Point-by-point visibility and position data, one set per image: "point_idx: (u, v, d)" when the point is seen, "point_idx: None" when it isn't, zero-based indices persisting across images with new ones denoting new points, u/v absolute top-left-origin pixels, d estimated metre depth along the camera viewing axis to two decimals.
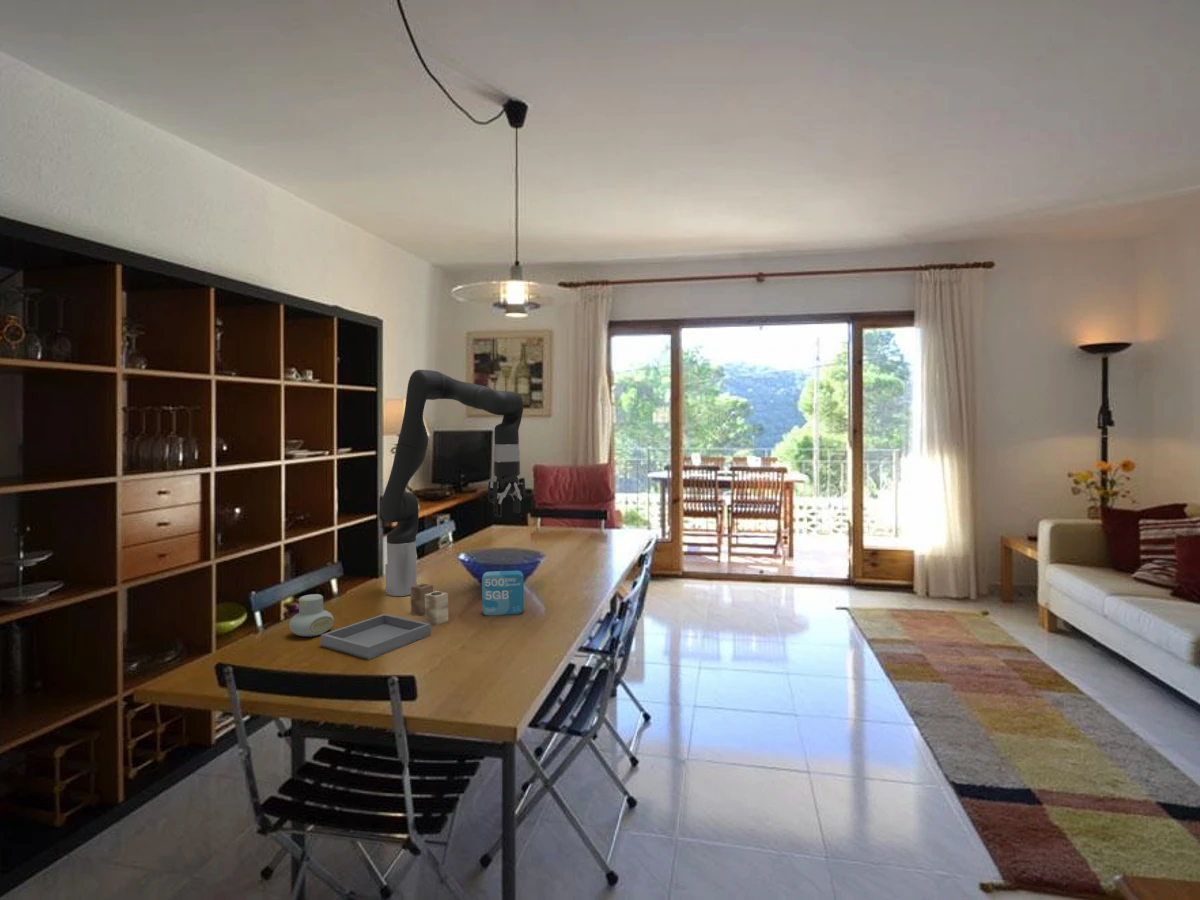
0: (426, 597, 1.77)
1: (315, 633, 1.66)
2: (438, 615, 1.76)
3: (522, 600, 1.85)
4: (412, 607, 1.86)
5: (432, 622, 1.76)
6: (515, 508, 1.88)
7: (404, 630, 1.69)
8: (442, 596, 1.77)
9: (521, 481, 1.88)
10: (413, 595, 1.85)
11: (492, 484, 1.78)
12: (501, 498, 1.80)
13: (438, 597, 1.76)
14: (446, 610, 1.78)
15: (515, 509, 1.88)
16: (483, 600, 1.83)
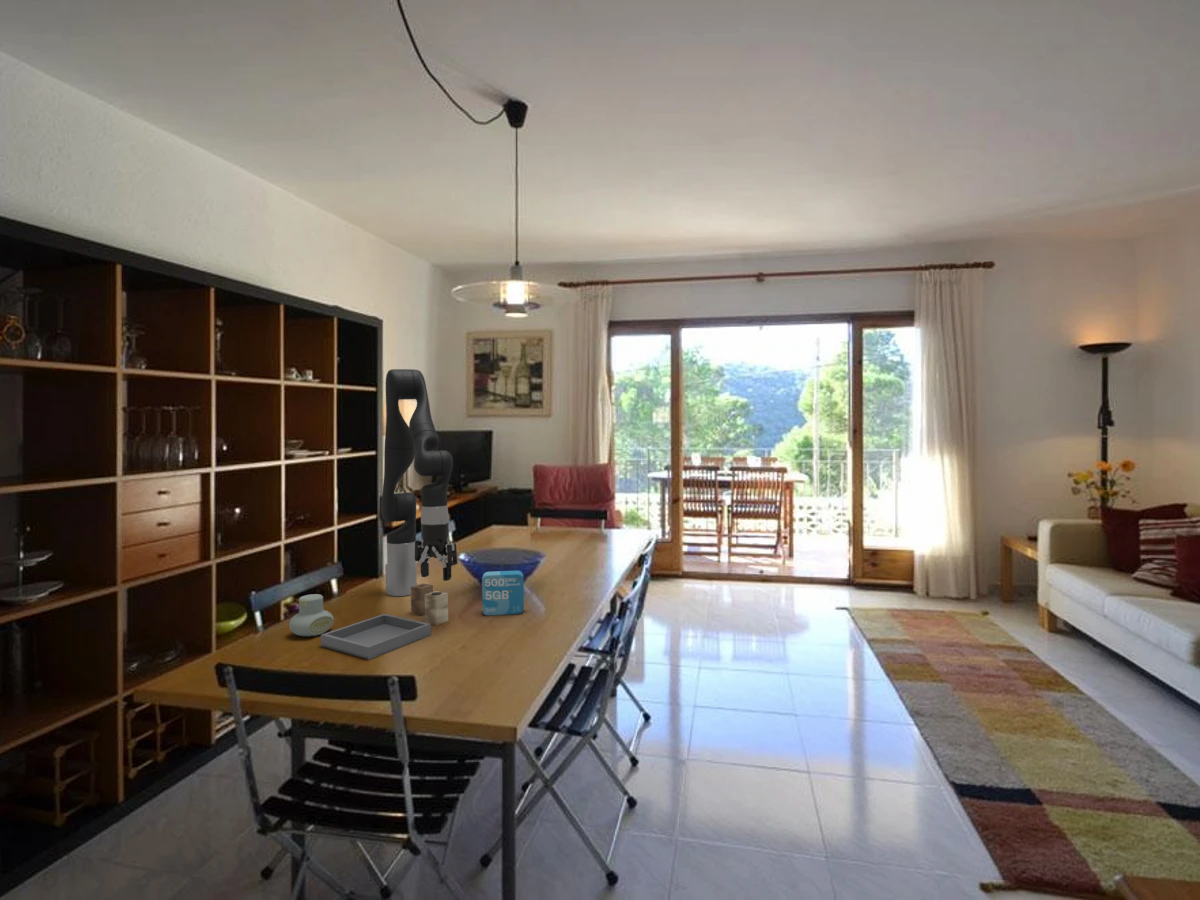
0: (426, 597, 1.77)
1: (315, 633, 1.66)
2: (438, 615, 1.76)
3: (522, 600, 1.85)
4: (412, 607, 1.86)
5: (432, 622, 1.76)
6: (425, 571, 1.80)
7: (404, 630, 1.69)
8: (442, 596, 1.77)
9: None
10: (413, 595, 1.85)
11: (453, 546, 1.74)
12: None
13: (438, 597, 1.76)
14: (446, 610, 1.78)
15: (425, 573, 1.80)
16: (483, 600, 1.83)
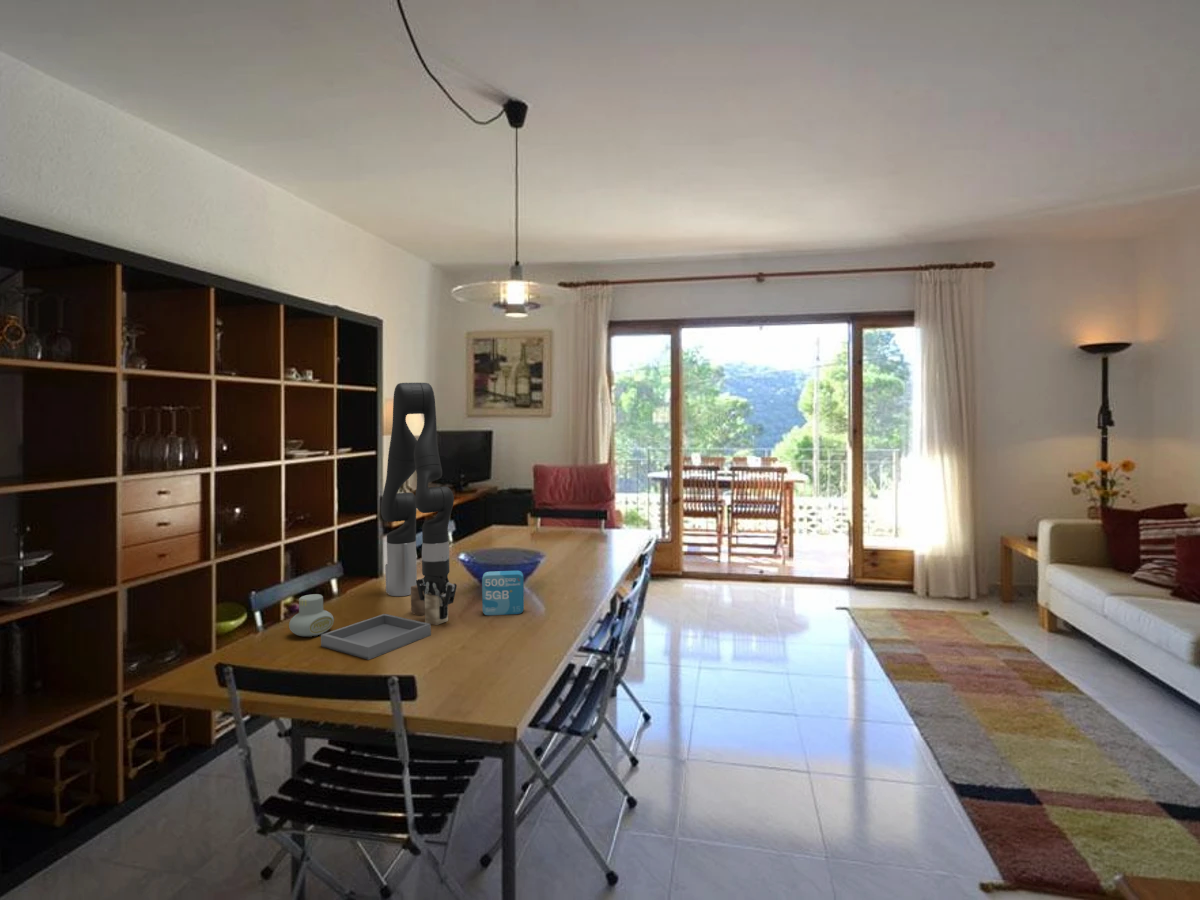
0: (426, 597, 1.77)
1: (315, 633, 1.66)
2: (438, 614, 1.76)
3: (522, 600, 1.85)
4: (412, 607, 1.86)
5: (432, 622, 1.76)
6: None
7: (404, 630, 1.69)
8: None
9: None
10: (413, 595, 1.85)
11: (454, 588, 1.75)
12: None
13: None
14: None
15: None
16: (483, 600, 1.83)
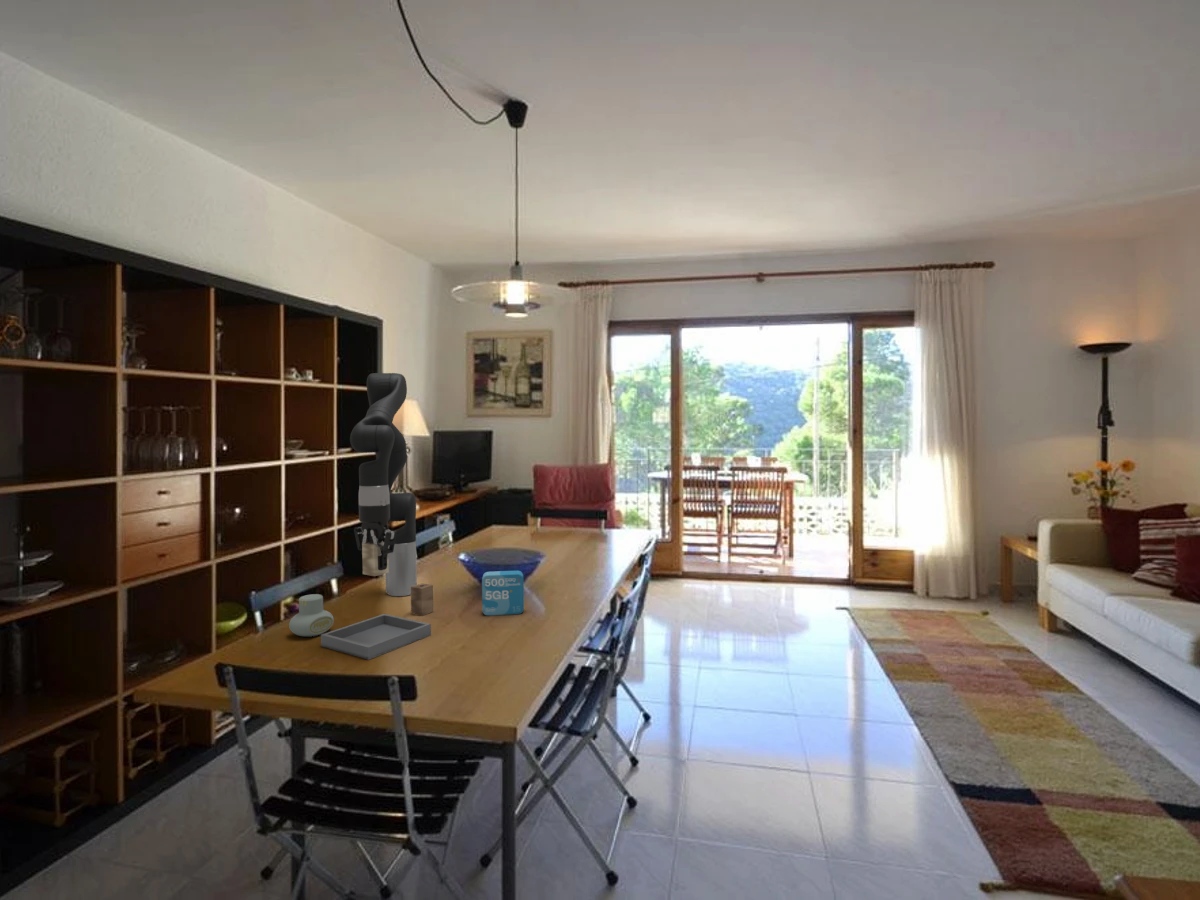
0: (363, 546, 1.61)
1: (315, 633, 1.66)
2: (376, 565, 1.60)
3: (522, 600, 1.85)
4: (412, 607, 1.86)
5: (370, 573, 1.60)
6: None
7: (404, 630, 1.69)
8: None
9: None
10: (413, 595, 1.85)
11: (393, 535, 1.59)
12: None
13: None
14: None
15: None
16: (483, 600, 1.83)
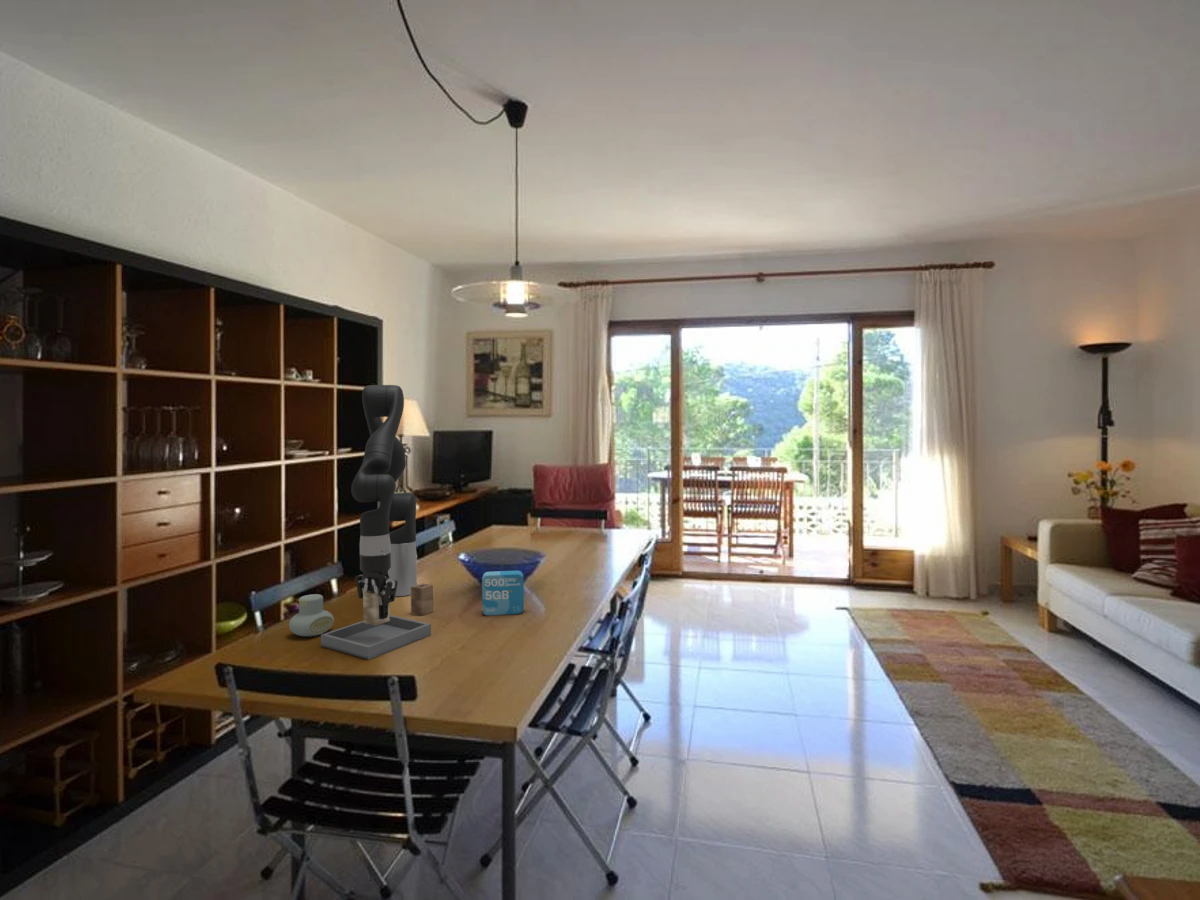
0: (364, 595, 1.61)
1: (315, 633, 1.66)
2: (377, 614, 1.60)
3: (522, 600, 1.85)
4: (412, 607, 1.86)
5: (371, 622, 1.61)
6: None
7: (404, 630, 1.69)
8: None
9: None
10: (413, 595, 1.85)
11: (394, 584, 1.59)
12: None
13: None
14: None
15: None
16: (483, 600, 1.83)
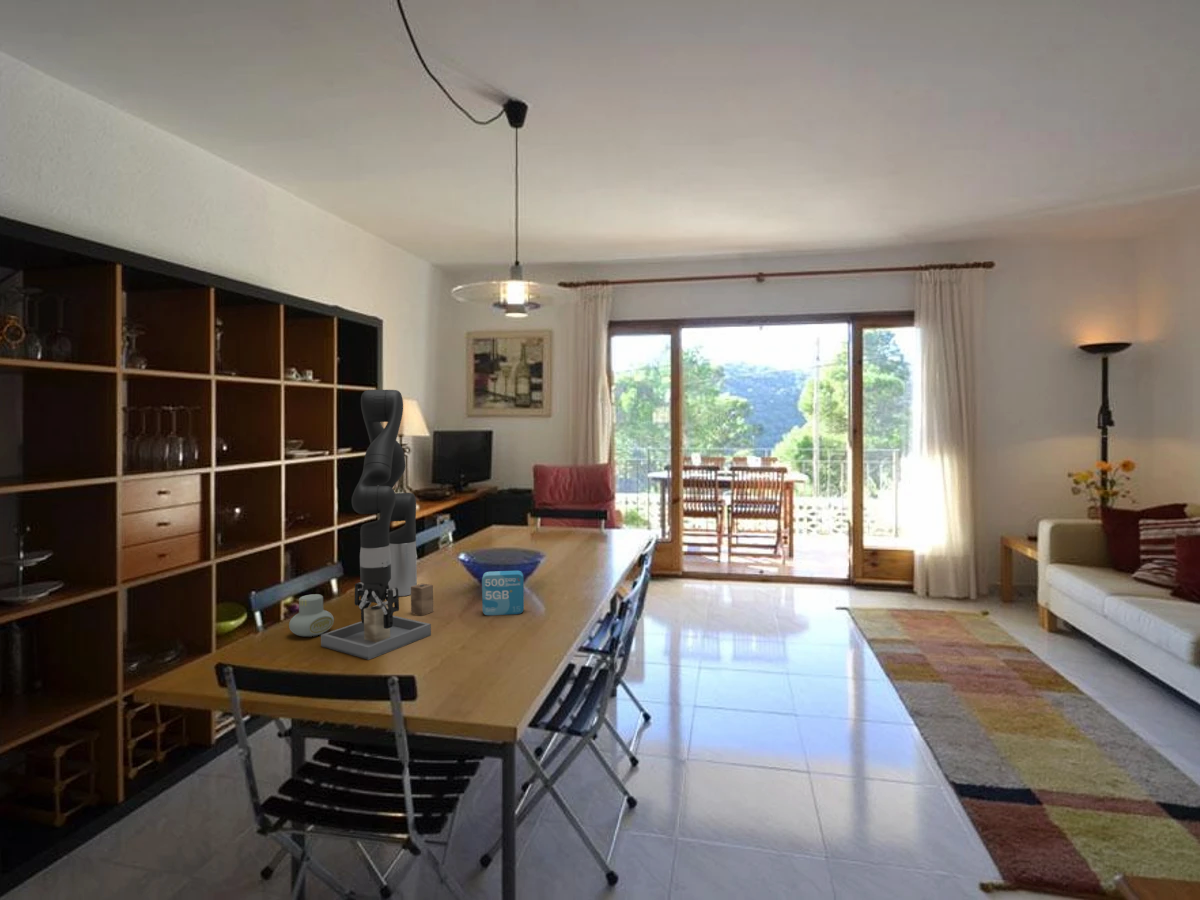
0: (365, 611, 1.62)
1: (315, 633, 1.66)
2: (377, 631, 1.60)
3: (522, 600, 1.85)
4: (412, 607, 1.86)
5: (371, 639, 1.61)
6: None
7: (404, 630, 1.69)
8: (382, 610, 1.62)
9: None
10: (413, 595, 1.85)
11: (395, 591, 1.59)
12: None
13: (378, 612, 1.60)
14: None
15: None
16: (483, 600, 1.83)
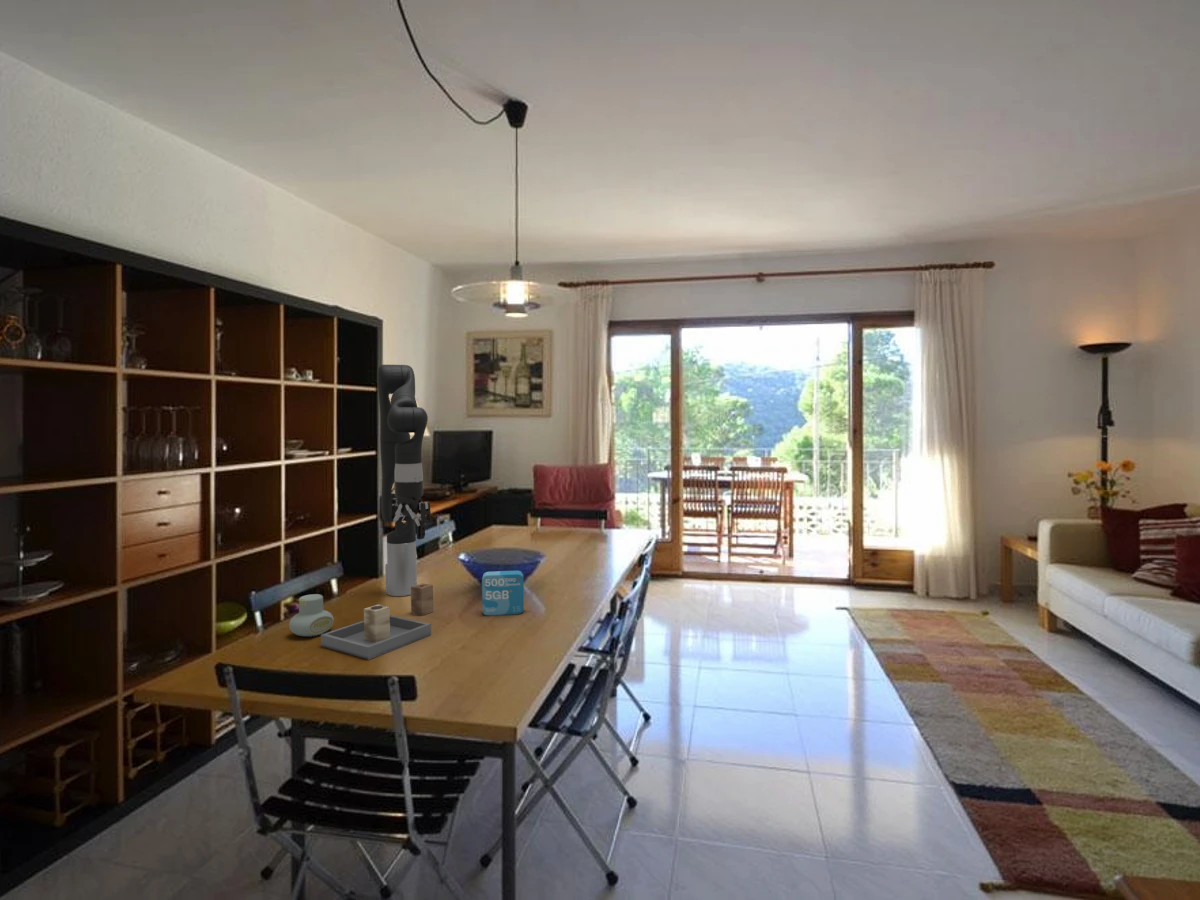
0: (365, 611, 1.62)
1: (315, 633, 1.66)
2: (377, 631, 1.60)
3: (522, 600, 1.85)
4: (412, 607, 1.86)
5: (371, 639, 1.61)
6: (400, 530, 1.77)
7: (404, 630, 1.69)
8: (382, 610, 1.62)
9: None
10: (413, 595, 1.85)
11: (427, 505, 1.71)
12: None
13: (378, 612, 1.60)
14: (387, 626, 1.63)
15: (399, 531, 1.77)
16: (483, 600, 1.83)
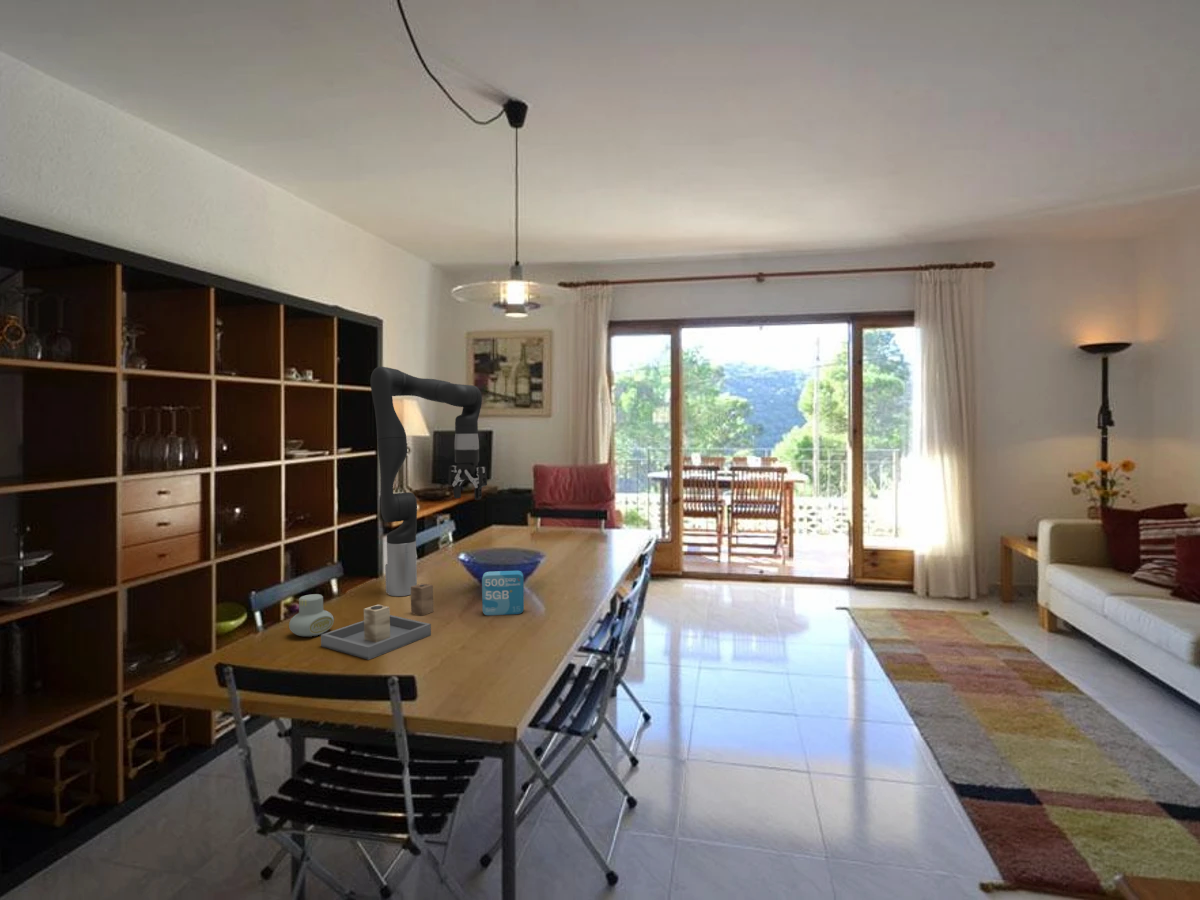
0: (365, 611, 1.62)
1: (315, 633, 1.66)
2: (377, 631, 1.60)
3: (522, 600, 1.85)
4: (412, 607, 1.86)
5: (371, 639, 1.61)
6: (458, 493, 2.02)
7: (404, 630, 1.69)
8: (382, 610, 1.62)
9: None
10: (413, 595, 1.85)
11: (484, 469, 1.96)
12: None
13: (378, 612, 1.60)
14: (387, 626, 1.63)
15: (458, 494, 2.02)
16: (483, 600, 1.83)
